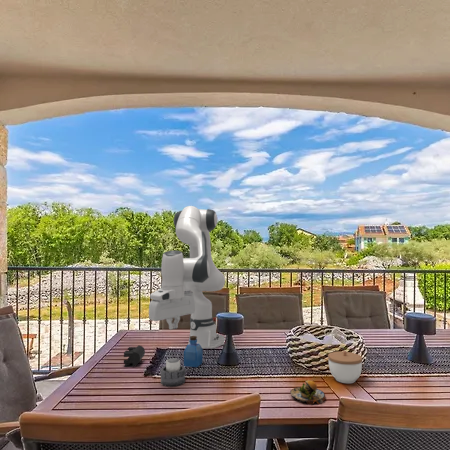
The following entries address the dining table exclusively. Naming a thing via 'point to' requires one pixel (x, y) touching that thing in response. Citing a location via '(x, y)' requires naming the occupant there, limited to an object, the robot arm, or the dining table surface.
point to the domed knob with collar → (172, 377)
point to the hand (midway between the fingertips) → (173, 328)
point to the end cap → (134, 356)
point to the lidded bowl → (345, 366)
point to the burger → (308, 393)
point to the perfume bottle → (193, 353)
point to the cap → (172, 365)
